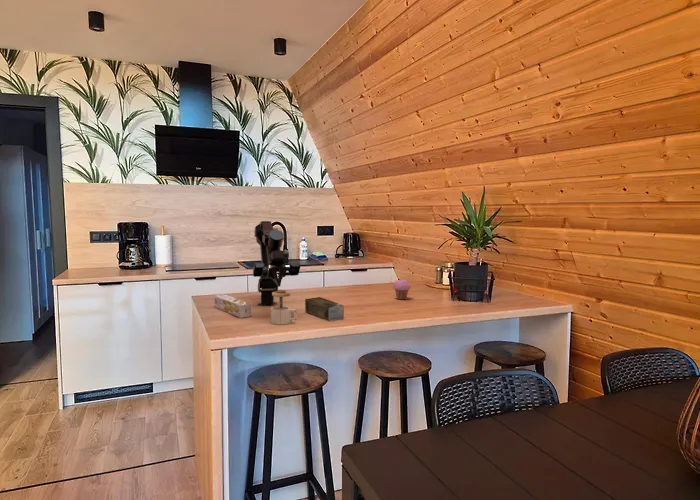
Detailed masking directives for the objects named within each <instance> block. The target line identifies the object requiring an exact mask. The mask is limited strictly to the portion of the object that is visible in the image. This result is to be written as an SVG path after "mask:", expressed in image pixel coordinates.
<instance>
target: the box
mask: <svg viewBox="0 0 700 500" xmlns="http://www.w3.org/2000/svg"><path fill="white" fill-rule="evenodd" d="M214 307H215V308H216V309H219V310H221V311H224V312H226V313H228V314H230V315H233V316H235V317H237V318H239V319H242V318H249V317H252V304H251V303H249V302H247V301H244V300H241V299H239V298H236V297H232V296H230V295H226V294H217V295H214Z"/></svg>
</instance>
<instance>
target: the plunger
mask: <svg viewBox="0 0 700 500" xmlns="http://www.w3.org/2000/svg"><path fill="white" fill-rule="evenodd" d="M272 296H274V298H275V297H277V298H279V306H280V308H283V306H284V305H283V302H284V301H283V300H284V299H283V298H286V297H290V296H291V292H290V291H288V290H286V289H278V290H277V291H275V292H272Z"/></svg>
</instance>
